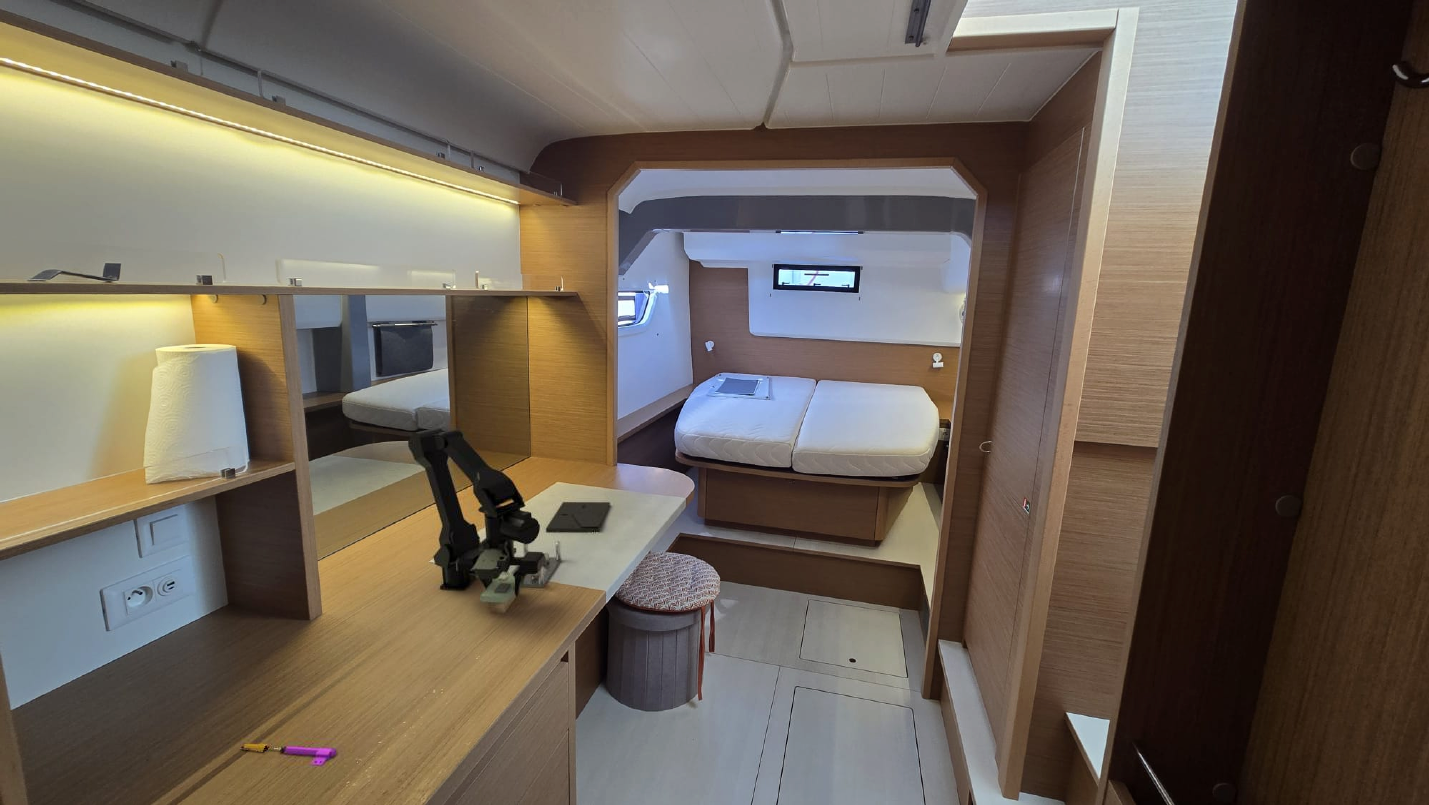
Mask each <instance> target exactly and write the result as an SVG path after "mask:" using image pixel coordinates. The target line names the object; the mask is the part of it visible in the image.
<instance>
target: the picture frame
mask: <svg viewBox="0 0 1429 805" xmlns="http://www.w3.org/2000/svg"><path fill="white" fill-rule="evenodd" d="M610 507H611V502H609V501H608V502H607V501H606V502H605V501H604V502H603V501H599V502H597V501H594V502H593V501H592V502H591V501H562V503H561V505H560V506H559V507H558V510H557V511H556V512H555V514H554V516H553V517H552V518H551V519H550V522H549V523H548V524H547V526H546V527H545V533H555V534H556V533H557V534H558V533H561V534H562V533H573V534H575V533H579V534H580V533H581V534H583V533H584V534H585V533H589V532H590V534H592V532H593V533H594V532H595V534H597V533H596V532H599V533H600V530H601V528H602V526H603V523H604V521H605V518H606V517H607V514H608V512H609V510H610ZM605 516H606V517H605Z"/></svg>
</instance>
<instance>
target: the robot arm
mask: <svg viewBox="0 0 1429 805" xmlns="http://www.w3.org/2000/svg"><path fill="white" fill-rule="evenodd" d="M407 445H408V449H409V451H410V452H411V454H412V457H413V460H414V461H415V462H416V463H418V464H419V465H420V466H421V467H422V468H424V469H425V473H426V476H427V480H428V482H429V486H430V489H431V492H432V495H433V500H434V502H435V505H436V509H437V512H438V516H439V519H440V522H441V526H442V527H441V530H440V533H439V537H438V544H439V549H438V550H437V551H436V552H435V553H434V555H433V556H432V557H433V561H434V565H436V566H437V567H440V568H441V572H442V573H441V576H442V584H441V585H440V586H439V589H440V590H453V591H454V590H456V591H457V590H458V591H465V590H467V589H468V588H469V587H470V586H471V585H472V583H473V582H474V581H475V580H476V579H477V578H478V579H479V581H480V582H481V584H482V586H483V587H484V591H485V590H486V589H487V588H488V586H489V585H490V584H491V583H492V582H493V580H494V579H497V578H498V577H499V576H500V574H501V573H503V572H507V571H508V572H509V569H510V568H511V566H512V567H514V566H515V568H517V570H516V571H515V572H514V574H513V576H514V578H515V596H516V597H518V596H519V595H520V593H521V590H522V588H523V587H522V584H523V581H524V578H525V576H526V575H527V574H537V573H538V572H539V571H540V569H541V568H542V567H543V565H544V564H545V562H546V560H545V555H544V552H543V551H528V552H527V553H526V555H525V556H524V555H522V556H515V554H516V553H517V547H515V546H514V545H515V544H514V542H517V543H521V544H522V545H523V544H528V545H530V544H532V543H533V542H534V541H535V540H536V539H537V538H538V536H539V534H540V530H541V525H540V523H539V521H538V519H537V518H535V517H533V516H532V515H533V514H532V512H530V511H524V510H522V508H525V507H526V503H525V502H524V498H523V496H522V495H521V494H520V492H519V489H517V486H516V484H515V483H514V481H513V480H512V479H511V478H510V476H508V475H506V474H505V473H504V472H503V471H502V470H498V469H494V468H492V467H491V466H490V465H488V463H487V462H486V461H485V460H484V459H483V457H481V456H480V454H479V453H478V452H477V451H476V450H475V449H474V448H473V447H472V445H471V444H470V443H469V442H468V441H467V440H466V439H465V438H464V434H463V432H462V431H461V430H460V429H448V430H444V429H442V428H441V427H436V428H431V429H427V430H421V431H417V432H414V433H412V434H411V435H410V438H409V439H408V442H407ZM449 458H450V459H451V460H452V462H453V463H455V465H456V466H457V467H458V468H459V469H460V470H461V472H462V473H463V475H464V476H466V477H467V479H468V480H469V481H470V483H471V484H472V491H473V492H472V493H473V495H474V496H475V499H477V501H478V503H479V504H480V507H479V508H478V510H477V511H478V512H479V513H483V514H484V515H483V516H484V525H485V526H484V527H485V538H486V540H485V541H484V545H483V550H479V546H480V542H481V537H480V535H479V533H478V530H477V525H476V524H475V523H470V522H469V521H468V520H466V519H465V517H464V514H463V510H462V507H461V504H460V502H459V500H460V499H459V497H458V494H457V491H456V488H455V484H454V480H453V477H452V473H451V471H450V468H449V464H448V461H449ZM510 501H512V502H510ZM508 502H510V503H508ZM505 503H507V504H505ZM503 504H504V505H503ZM513 540H514V541H513Z"/></svg>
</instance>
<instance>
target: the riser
mask: <svg viewBox="0 0 1429 805" xmlns="http://www.w3.org/2000/svg"><path fill="white" fill-rule="evenodd" d="M515 599H516V596H515V593H514V594H513V596H512V597H511V598H510V600H509V601H508V602H507V603H504V602H490V608H491V609H490V610H491V613H505V612H507V610H508V609H509V607H510V606H511V604H512V603H514V602H513V601H514V600H515Z"/></svg>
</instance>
